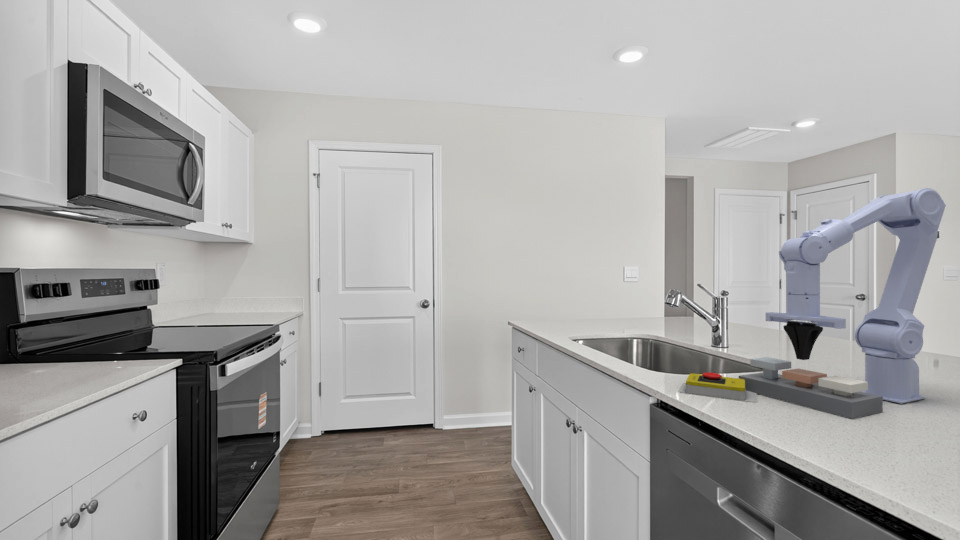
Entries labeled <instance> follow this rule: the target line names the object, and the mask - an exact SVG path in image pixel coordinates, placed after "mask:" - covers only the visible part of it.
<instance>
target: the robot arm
mask: <svg viewBox="0 0 960 540" xmlns="http://www.w3.org/2000/svg"><path fill="white" fill-rule="evenodd" d="M946 205H947V204H946V203H945V202H944V199H942V197H941V195H940V194H939V192H938V191H937V190H935V189H933V188H931V187H930V188H929V187H924V188H920V189H918V190H911V191H906V192H899V193H894V194H883V195H879V196H878V197H877V198H874V199H871V200H870V201H869V202H868V203H867V204H865V205H864V206H862V207H861V208H859V209H858V210H856V211H854V212H852V213H851V214H850V215H848V216H846V217H845V218H843V219H838V218H833V219H831V218H827V219H823V220H822V221H820V225H818V226H816V227H815V228H813V229H811V230H805V231H803V232H802V235H800V237H795V238H789V239H787V240H786V241H785V242H784V243H783V245H782V247H780V248H781V249H780V250H778V255H779V258H780V260H781V261H782V263H783V268H784V269H783V270H785V279H786V280H785V281H786V282H785V292H786V293H785V295H786V296H785V297H786V299H785V300H786V302H785V305H786V306H785V307H786V308H785V309H786V310H785V312H772V311H771V312H769V311H767V312H765V322H777V323H783V324H784V323H786V325H785V324H784V325H783V326H782V327H783V330H784V332H786V334H787V336H788V338H789V339H790V342H791V345H792V347H793V350H794V353H795V357H796V360H802V361H806V360H810V358H811V354H812V351H813V348H814V346H815V343H816V341H817V339H818V337H819V336H820V335H821V334H822V332H823V330H824V328H833V329H840V330H842V329H846V328H847V326H846V325H847V324H846V322H847V321H846V318H844V317H843V318H841V317H833V316H825V315H821V263H824V262H825V261H826V260H827V258H828V255H829V254H830V253H832V252H834V251H836V250H837V249H839V248H840V247H843V246H844V245H846V244H848V243H850V242H851V241H852V240H853V237H854V233H857V232H859V231H861V230H863V229H865V228H867V227H869V226H871V225H873V224H875V223H879V224H881V226H882V227H884V229H885V230H887V231H888V232H889V233H891V234H892V235H894V236H896V237H897V238H898V239H899V241H898V245H897V248H896V252H895V254H894V258H893V260H892V264H891V266H890V270H889V273H888V276H887V278H886V283H885V284H884V288H883V292H882V295H881V297H880V301H879V304H878V306H877V307H876V308H875V309H873V310H871V311H869V312H867V313H866V314H865V315H864V317H863V320H862V321H861V323H859V325H858V326H857V327H856V329H855V331H854V340H855V343H856V344H857V345H858V346H859V347H860V348H861V353H864V367H865V368H864V381H865V382H868V390H865V391H860V392H865V393H869V394H874V395H879V396H883V401H887V402H893V403H896V404H907V403H910V402H915V401H920V400H925V399H926V395H921V394H920V367H919V365H918V363H917V361H915V360H914V359H916V356H917V355H918V354H919V353H920V352H921V351H922V349H923V347H924V346H923V345H924V338H923V337H924V335H923V334H924V333H923V332H924V329H925V325H924V324H923V323H922V322H921V321H920V319H919V318H917V317H916V316H915V315H914V311H915V309H916V304H917V302H918V298H919V295H920V292H921V289H922V286H923V283H924V281H925V276H926V273H927V271H928V268H929V265H930V262H931V259H932V255H933V252H934V249H935V246H936V243H937V239H938V236H939V228H940V225H941V222H942V218H943V216H944V211H945V209H946Z"/></svg>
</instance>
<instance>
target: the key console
mask: <svg viewBox="0 0 960 540" xmlns="http://www.w3.org/2000/svg"><path fill="white" fill-rule="evenodd" d="M738 378H739V379H744V380H745V388H746V391H750V392H754V393H757V395H759V396H764V397H768V398H771V399H775V400H779V401H783V402H786V403H790V404H792V405H793V404H794V405H797V406H801V407H805V408H809V409H812V410H817V411H820V412H823V413H828V414H831V415H835V416H839V417H842V418H846V419H850V420H854V419H859V418H863V417H866V416H871V415H875V414H881V413H883V411H884V410H883V409H884V405H883V401H884V400H883V396H879V395H874V394H869V393H865V392H854V393H852V396H842V395H838V394H834V389H830V388H826V387H821V386H818V383H814V384H812V387H803V386H798V385H796V381H794V380H790V379H785V378H782V374H780V373H778V379H774V380H772V379H768V378H763V372H756V373H748V374H743V375H738Z"/></svg>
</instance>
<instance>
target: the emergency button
mask: <svg viewBox="0 0 960 540" xmlns="http://www.w3.org/2000/svg"><path fill="white" fill-rule="evenodd" d="M678 393H680V394H685V395H694V396H701V397H709V398H714V399H715V398H716V399H724V400H730V401H731V400H733V401H739V402H746V403H755V404H756V403H758V394H757V393H754V392H750V391H746V388H745V380H744V379H739V377H738V378H737V377H730V376H729V377H728V376H722V374H720V373H716V372H703V373H702V374H701V373H693V372H692V373H689V375H688V376H687V378H686V380H685V382H682V384H681V386H680V388H679V389H678Z"/></svg>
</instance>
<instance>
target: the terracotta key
mask: <svg viewBox="0 0 960 540" xmlns="http://www.w3.org/2000/svg"><path fill="white" fill-rule="evenodd" d="M781 375H782V378H785V379H790V380H794V381H796V385H798V386H803V387H812V384H814V383H818V378H824V377H828V373H824V372H818V371H812V370H808V369H803V368H793V369H792V368H791V369H783V370H782V371H781Z"/></svg>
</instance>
